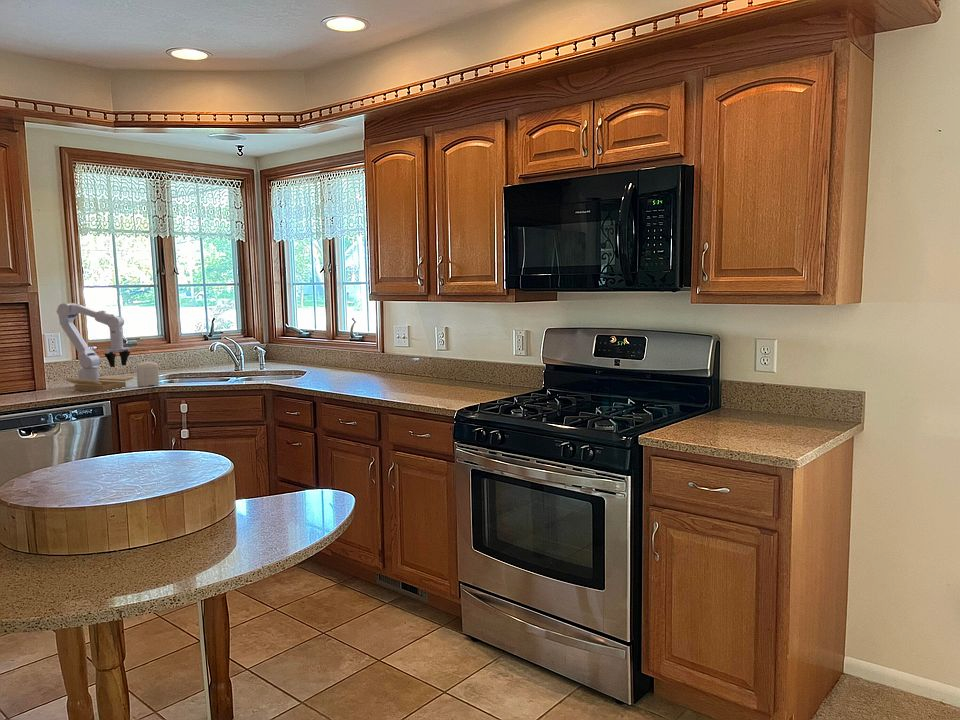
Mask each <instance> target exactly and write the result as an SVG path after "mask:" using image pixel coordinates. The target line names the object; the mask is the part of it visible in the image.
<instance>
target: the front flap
mask: <svg viewBox="0 0 960 720" xmlns="http://www.w3.org/2000/svg"><path fill="white" fill-rule="evenodd" d="M65 381H66V382H70V383H72V384H73V385H74V384H92V385H102V383H101V382H99V381H96V380H92V379H79V378H70V377H69V378H67V377H66V378H65Z"/></svg>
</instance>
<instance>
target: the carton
mask: <svg viewBox="0 0 960 720" xmlns="http://www.w3.org/2000/svg"><path fill="white" fill-rule="evenodd" d="M99 382H101V383H102V385H92V384H74V383H73V386H74V391H77V390H88V391H87V392H96V391H106V392H108V391H107V390H111V391H113V390H112V389H116V388H122V387H126V388H127V385H126V381H109V380H100V381H99ZM122 389H123V388H122Z"/></svg>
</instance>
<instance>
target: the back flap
mask: <svg viewBox="0 0 960 720" xmlns="http://www.w3.org/2000/svg"><path fill="white" fill-rule="evenodd" d="M132 379H134V376H132V375H131V376H129V375H107V374H106V375H104V376H99V378H98V380H100V381H115V382H126V381H130V380H132Z"/></svg>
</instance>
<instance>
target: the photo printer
mask: <svg viewBox="0 0 960 720" xmlns="http://www.w3.org/2000/svg"><path fill="white" fill-rule="evenodd" d="M136 365H137V366H136V373H137V374H136V379H137V380H136V381H137V387H138V386H143V387H148V386H147V385H158V384H159V385H160V373H159V371H160V370H159V364H158V363H157V362H154V361H146V362H145V361H144V362H140V363H137V364H136Z"/></svg>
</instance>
